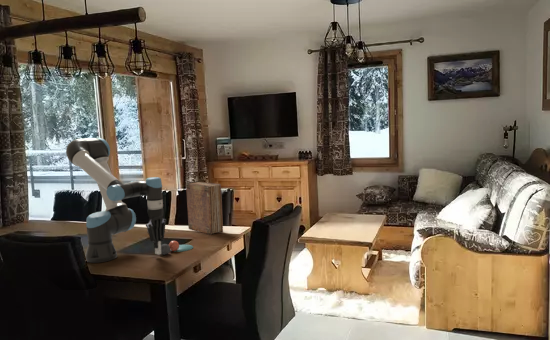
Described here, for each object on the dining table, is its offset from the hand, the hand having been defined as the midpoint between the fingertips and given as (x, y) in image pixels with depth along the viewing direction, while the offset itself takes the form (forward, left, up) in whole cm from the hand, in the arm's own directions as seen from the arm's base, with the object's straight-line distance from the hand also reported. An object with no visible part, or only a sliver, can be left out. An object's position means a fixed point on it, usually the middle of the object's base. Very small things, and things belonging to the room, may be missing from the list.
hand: (158, 253), depth 228 cm
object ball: (+12, +4, +1) cm, 12 cm away
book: (+49, +30, -2) cm, 58 cm away
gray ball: (+5, +2, +1) cm, 6 cm away
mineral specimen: (+24, +51, -2) cm, 56 cm away
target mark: (+17, +6, -2) cm, 18 cm away
